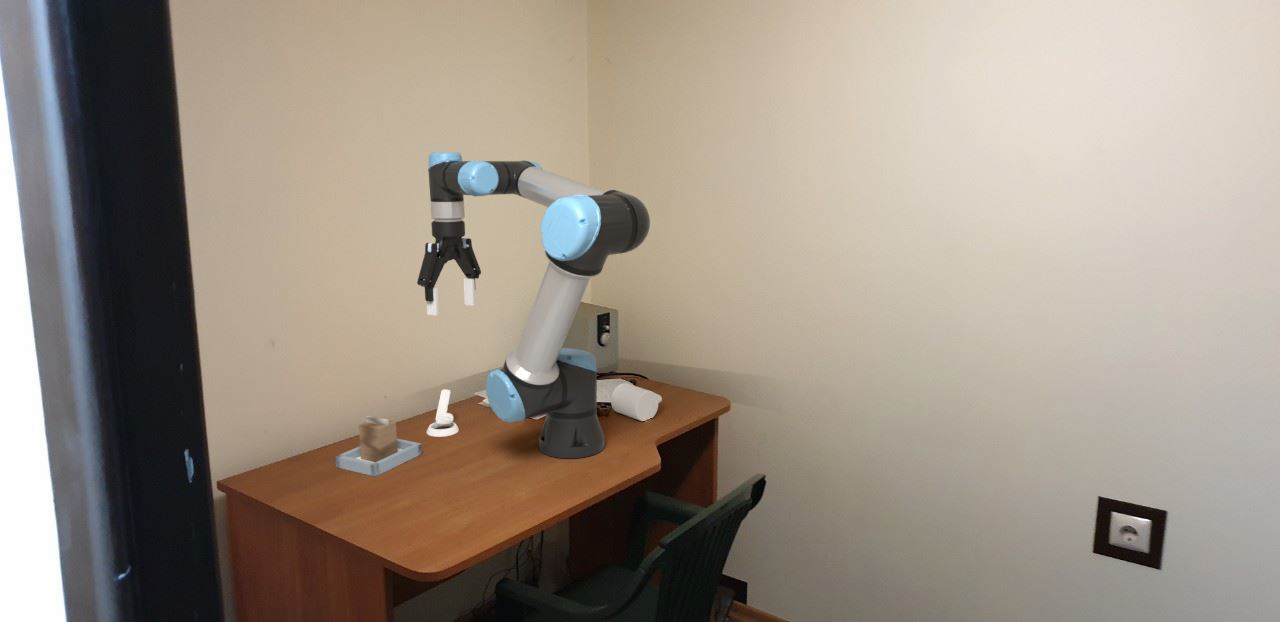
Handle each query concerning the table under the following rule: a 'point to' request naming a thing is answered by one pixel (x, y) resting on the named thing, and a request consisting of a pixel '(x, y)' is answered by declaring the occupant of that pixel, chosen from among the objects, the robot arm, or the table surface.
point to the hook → (443, 418)
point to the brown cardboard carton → (377, 439)
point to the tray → (355, 463)
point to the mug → (635, 401)
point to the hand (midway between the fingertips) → (452, 310)
